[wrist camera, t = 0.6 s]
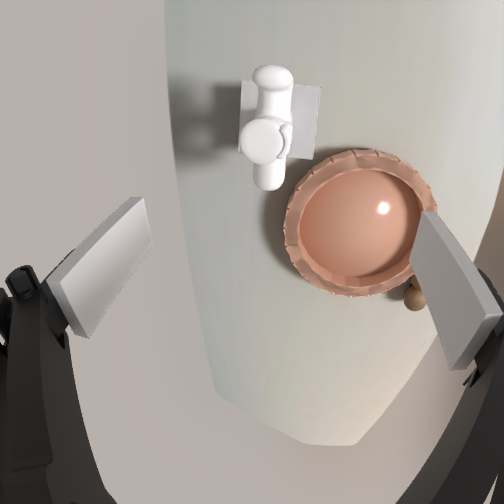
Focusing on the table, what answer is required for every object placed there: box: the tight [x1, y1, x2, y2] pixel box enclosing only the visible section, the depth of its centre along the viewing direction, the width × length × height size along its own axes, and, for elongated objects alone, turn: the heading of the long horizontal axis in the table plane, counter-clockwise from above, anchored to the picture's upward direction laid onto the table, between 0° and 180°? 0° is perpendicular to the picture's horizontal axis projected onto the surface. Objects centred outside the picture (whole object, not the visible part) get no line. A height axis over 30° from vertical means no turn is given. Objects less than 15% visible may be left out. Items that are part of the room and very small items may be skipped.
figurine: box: [238, 65, 321, 191], centre depth 22 cm, size 7×9×15 cm
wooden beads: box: [404, 274, 427, 311], centre depth 35 cm, size 7×7×4 cm
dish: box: [283, 149, 437, 297], centre depth 33 cm, size 19×18×3 cm
